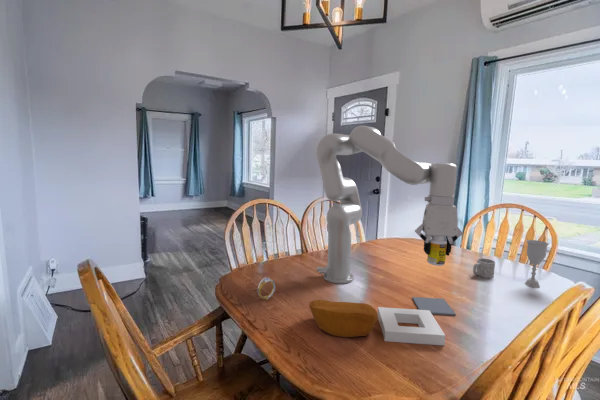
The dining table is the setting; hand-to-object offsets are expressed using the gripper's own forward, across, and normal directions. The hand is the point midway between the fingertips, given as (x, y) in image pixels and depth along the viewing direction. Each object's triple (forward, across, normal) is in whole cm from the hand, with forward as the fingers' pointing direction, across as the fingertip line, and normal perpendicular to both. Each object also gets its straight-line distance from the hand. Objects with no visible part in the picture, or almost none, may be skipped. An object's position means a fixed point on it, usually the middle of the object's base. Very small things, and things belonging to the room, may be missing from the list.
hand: (436, 253), depth 105 cm
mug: (+19, +31, +33) cm, 49 cm away
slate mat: (+19, 0, 0) cm, 19 cm away
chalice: (+19, +47, +25) cm, 57 cm away
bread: (+19, -32, -17) cm, 41 cm away
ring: (+19, -58, -2) cm, 61 cm away
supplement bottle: (+4, 0, 0) cm, 4 cm away
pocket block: (+19, -12, -16) cm, 28 cm away
